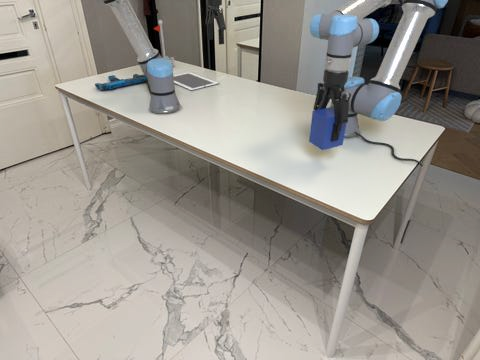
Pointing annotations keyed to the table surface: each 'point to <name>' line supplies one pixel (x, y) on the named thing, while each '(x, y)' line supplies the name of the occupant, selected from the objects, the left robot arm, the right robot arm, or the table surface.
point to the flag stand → (159, 28)
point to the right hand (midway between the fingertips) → (326, 135)
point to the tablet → (192, 81)
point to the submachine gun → (121, 82)
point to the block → (324, 129)
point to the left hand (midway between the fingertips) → (216, 41)
